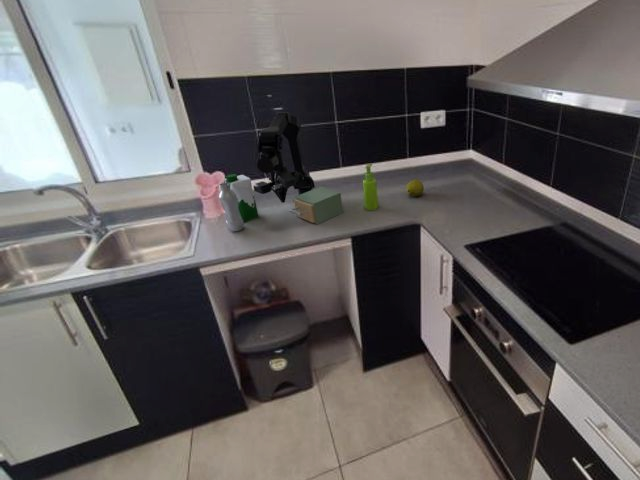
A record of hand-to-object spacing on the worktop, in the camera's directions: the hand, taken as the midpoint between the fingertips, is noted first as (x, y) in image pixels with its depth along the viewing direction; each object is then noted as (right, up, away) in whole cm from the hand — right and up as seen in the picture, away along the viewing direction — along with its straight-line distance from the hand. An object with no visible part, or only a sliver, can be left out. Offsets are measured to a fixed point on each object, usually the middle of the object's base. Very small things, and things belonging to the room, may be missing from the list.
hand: (283, 202), depth 151 cm
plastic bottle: (-21, -11, +6) cm, 25 cm away
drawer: (+8, -5, +14) cm, 17 cm away
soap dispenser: (+32, 0, +24) cm, 40 cm away
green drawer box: (+10, -4, +18) cm, 21 cm away
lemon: (+52, +6, +35) cm, 63 cm away
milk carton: (-21, -5, +16) cm, 27 cm away
